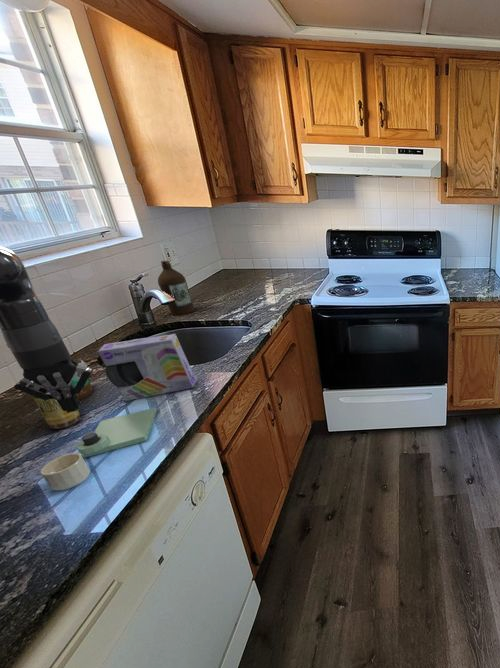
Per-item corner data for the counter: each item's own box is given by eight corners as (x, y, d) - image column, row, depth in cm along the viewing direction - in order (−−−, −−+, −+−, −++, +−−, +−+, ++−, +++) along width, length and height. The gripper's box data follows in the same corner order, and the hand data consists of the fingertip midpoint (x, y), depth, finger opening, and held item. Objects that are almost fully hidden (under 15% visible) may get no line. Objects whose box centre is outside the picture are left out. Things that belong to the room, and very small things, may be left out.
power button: (84, 447, 86) (80, 440, 86) (87, 441, 89) (83, 434, 88) (97, 443, 88) (94, 437, 87) (101, 437, 90) (97, 431, 89)
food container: (58, 411, 105) (40, 381, 100) (46, 407, 107) (28, 378, 102) (107, 388, 115) (93, 361, 111) (95, 385, 117) (81, 358, 113)
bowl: (46, 496, 77) (34, 479, 75) (59, 476, 82) (48, 459, 80) (86, 484, 79) (75, 467, 77) (95, 465, 85) (85, 449, 82)
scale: (78, 462, 86) (73, 452, 85) (99, 425, 98) (94, 416, 97) (145, 443, 91) (140, 434, 90) (156, 411, 103) (152, 402, 102)
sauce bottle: (47, 433, 96) (6, 368, 87) (55, 421, 100) (16, 358, 92) (80, 424, 99) (44, 360, 90) (86, 413, 104) (52, 351, 95)
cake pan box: (119, 402, 108) (92, 350, 100) (126, 393, 112) (101, 342, 104) (193, 389, 113) (173, 338, 106) (197, 381, 117) (178, 332, 110)
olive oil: (165, 313, 176) (145, 262, 165) (188, 306, 184) (171, 257, 173) (177, 317, 171) (157, 264, 160) (200, 309, 179) (183, 259, 169)
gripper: (83, 330, 82) (114, 394, 90) (1, 342, 77) (41, 410, 84) (71, 342, 76) (105, 410, 84) (-19, 357, 71) (26, 428, 78)
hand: (73, 410), depth 84 cm, fingers closed
